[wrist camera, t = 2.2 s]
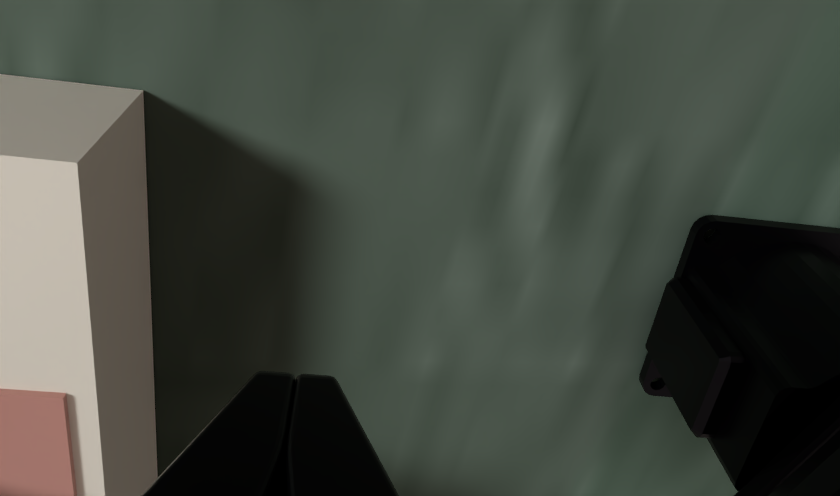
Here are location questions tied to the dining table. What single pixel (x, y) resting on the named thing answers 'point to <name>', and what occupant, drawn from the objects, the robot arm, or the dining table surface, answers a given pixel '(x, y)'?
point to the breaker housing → (74, 292)
